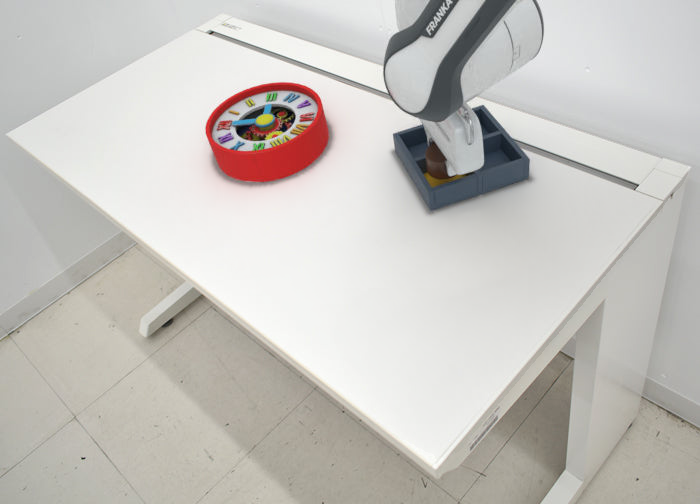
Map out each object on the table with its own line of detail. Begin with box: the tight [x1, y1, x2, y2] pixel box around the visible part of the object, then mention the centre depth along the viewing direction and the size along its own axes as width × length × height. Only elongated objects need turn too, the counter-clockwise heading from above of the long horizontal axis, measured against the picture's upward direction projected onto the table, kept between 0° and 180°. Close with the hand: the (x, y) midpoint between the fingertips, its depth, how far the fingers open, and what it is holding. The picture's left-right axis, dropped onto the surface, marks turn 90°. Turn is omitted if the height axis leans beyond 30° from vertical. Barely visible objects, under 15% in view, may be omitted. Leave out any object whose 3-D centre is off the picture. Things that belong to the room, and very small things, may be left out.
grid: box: [392, 104, 531, 212], centre depth 92 cm, size 15×15×4 cm
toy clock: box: [204, 81, 330, 183], centre depth 103 cm, size 20×6×20 cm
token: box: [425, 143, 457, 179], centre depth 87 cm, size 5×5×3 cm
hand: (443, 159), depth 87 cm, fingers closed on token, 5 cm apart
